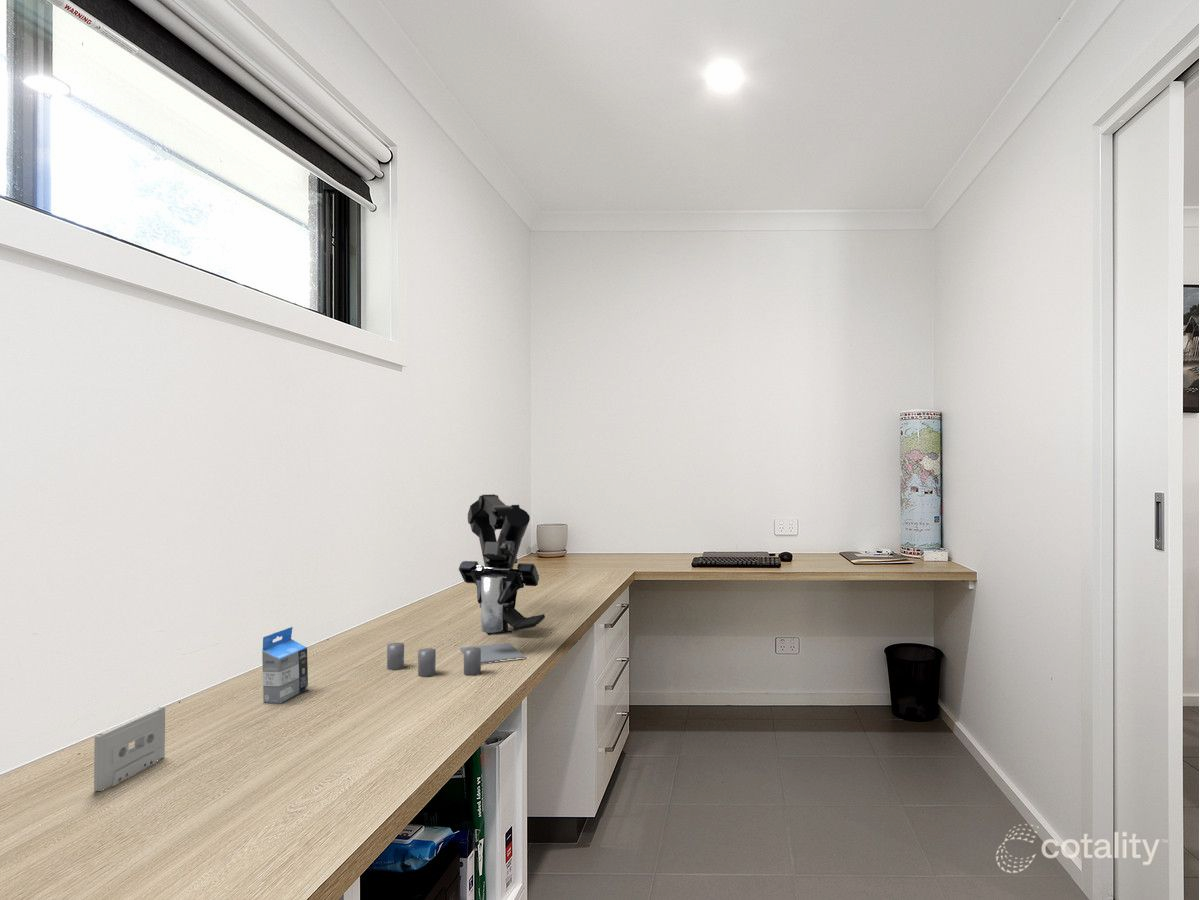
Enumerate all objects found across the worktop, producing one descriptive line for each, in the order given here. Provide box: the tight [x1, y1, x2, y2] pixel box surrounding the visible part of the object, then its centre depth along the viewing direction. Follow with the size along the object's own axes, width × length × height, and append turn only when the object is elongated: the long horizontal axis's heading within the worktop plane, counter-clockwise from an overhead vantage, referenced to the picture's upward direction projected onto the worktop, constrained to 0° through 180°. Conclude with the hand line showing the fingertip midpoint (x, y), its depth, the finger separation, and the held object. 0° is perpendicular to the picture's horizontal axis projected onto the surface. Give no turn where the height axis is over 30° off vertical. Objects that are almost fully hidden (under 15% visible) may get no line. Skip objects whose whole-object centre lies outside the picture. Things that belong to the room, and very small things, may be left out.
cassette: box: [93, 706, 166, 792], centre depth 104 cm, size 12×2×8 cm, turn 171°
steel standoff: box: [480, 575, 503, 634], centre depth 169 cm, size 5×5×12 cm
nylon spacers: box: [386, 642, 482, 678], centre depth 154 cm, size 7×22×5 cm, turn 77°
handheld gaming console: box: [503, 607, 546, 632], centre depth 189 cm, size 11×10×4 cm
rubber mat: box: [459, 642, 526, 665], centre depth 168 cm, size 14×12×1 cm
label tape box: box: [261, 626, 309, 704], centre depth 139 cm, size 9×4×12 cm, turn 168°
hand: (489, 603), depth 167 cm, fingers closed on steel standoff, 5 cm apart
